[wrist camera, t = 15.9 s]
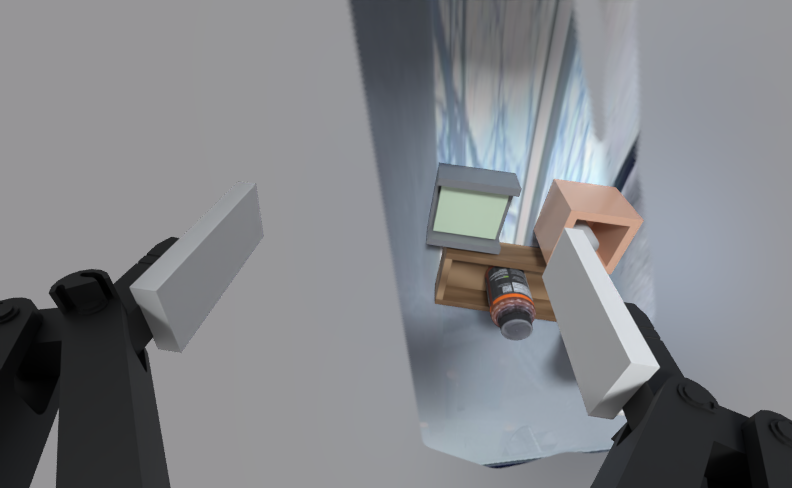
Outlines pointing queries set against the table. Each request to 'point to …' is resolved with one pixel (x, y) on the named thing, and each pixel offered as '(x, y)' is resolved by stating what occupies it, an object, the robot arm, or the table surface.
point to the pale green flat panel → (469, 212)
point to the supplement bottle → (510, 301)
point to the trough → (466, 277)
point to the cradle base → (478, 182)
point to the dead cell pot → (588, 219)
